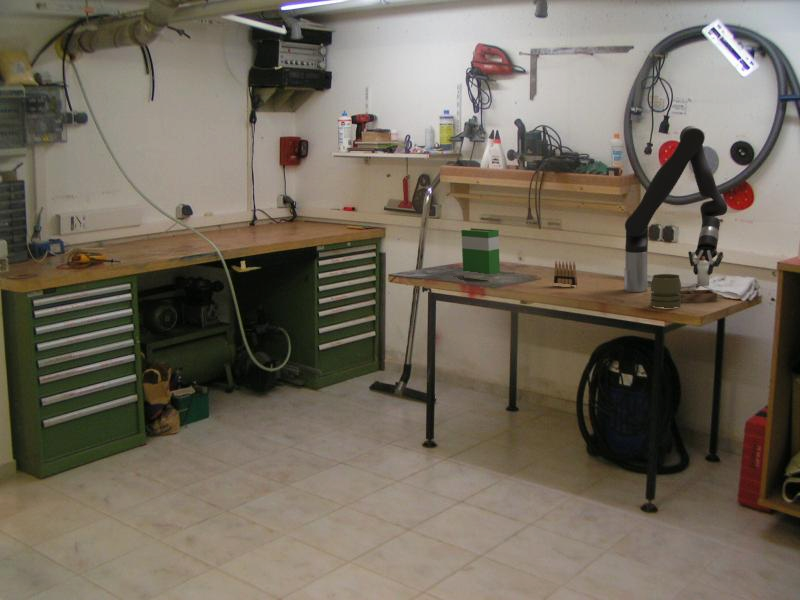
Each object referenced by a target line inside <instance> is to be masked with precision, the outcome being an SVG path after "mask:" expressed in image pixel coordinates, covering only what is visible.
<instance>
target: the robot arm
mask: <svg viewBox="0 0 800 600" xmlns="http://www.w3.org/2000/svg"><path fill="white" fill-rule="evenodd" d="M705 139H706V136H705V133H704V131H703V130H702V129H701V128H700V127H698V126H695V125H688V126H686V127H684V128H683V129H682V130H681V131H680V133H679V142H678V144H677V146H676V148H675V150H674V151H673V152H672V155H671V156H670V157H669V158H668V159H667V160H666V161H665V162H664V163H663V165H661V167H660V168H659V169H658V170H657V171H656V173H655V175H654V176H653V178H652V180H651V181H650V183H649V185H648V186H647V188H646V190H645V193H644V195H643V197H642V199H641V200H640V202H639V204H638V206H637V207H635V209H634V210H633V212H632V213H631V215H629V216H628V217H627V218H626V220H625V223H624V229H625V246H624V247H625V249H624V250H625V252H624V253H625V267H624V271H623V273H624V281H623V282H624V290H625V292H626V293H627V292H628V293H642V292H647V291H648V286H649V285H648V248H649V247H648V246H649V245H648V244H649V224H650V222H651V220H652V218H654V217H653V216H654V214H656V212H657V210H658V209H659V208H660V206H661V205H662V204H663V203H664V201H665V200H666V199H667V198H668V197H669V195H670V194H671V192H672V191H673V190H674V188H675V187H676V185H677V184H678V181H679V180H680V178H681V177H682V175H683V173H684V171H685V170H686V168H687V165H688V164H689V162H690V164H691V167H692V172H693V175H694V180H695V182H696V186H697V188H698V192H699V195H700V196H701V197H703V198H710V199H711V200H707V201H703V203H702V204H701V205H700V208H699V210H700V215H701V222H702V223H701V229H700V232H699V235H698V241H697V245H696V246H697V247H696V250H695V251H693V252H692V251H691V250H690V251H688V254H687V255H688V259H689V264H690V266H691V267H693V271H692V272H693V274H694V275H695V276H697V265H698V263H699V262H700V261H701V260H702V257H705V260H706V261H707V262H708V263H709V269H708V275H709V276H711V274H713V270H714V267H716V268H717V267H719V266H720V264H721V262H722V260H723V259H724V252H723V251H720V252H718V251H717V249H718V244H719V237H720V236H719V235H720V226H721V221H720V219H719V218H718V217H721V216H723V215H725V214H726V213H727V212H728V204H727V202H726V200H725V199H724V197H723V195H722V194H721V192H720V191H719V189H718V188H717V184H716V181H715V178H714V174H713V172H712V170H711V167H710V165H709V162H708V160H707V158H706V155H705V154H706V153H705V152H704V151H705V150H704V146H703V144H704V143H705ZM695 257H696V259H695V261H694V258H695ZM715 257H716V259H715V261H714V260H713V259H714V258H715Z"/></svg>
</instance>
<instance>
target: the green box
mask: <svg viewBox="0 0 800 600" xmlns="http://www.w3.org/2000/svg"><path fill="white" fill-rule="evenodd" d="M460 233H461V250H462V254H461V255H462V272H463V271H470V272H478V273H484V274H497V273H500V272H501V271H500V270H501V269H500V267H501V265H500V236H499V229H487V228H473V227H472V228H470V229H469V230H468V229H461V232H460ZM500 274H501V273H500Z"/></svg>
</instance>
